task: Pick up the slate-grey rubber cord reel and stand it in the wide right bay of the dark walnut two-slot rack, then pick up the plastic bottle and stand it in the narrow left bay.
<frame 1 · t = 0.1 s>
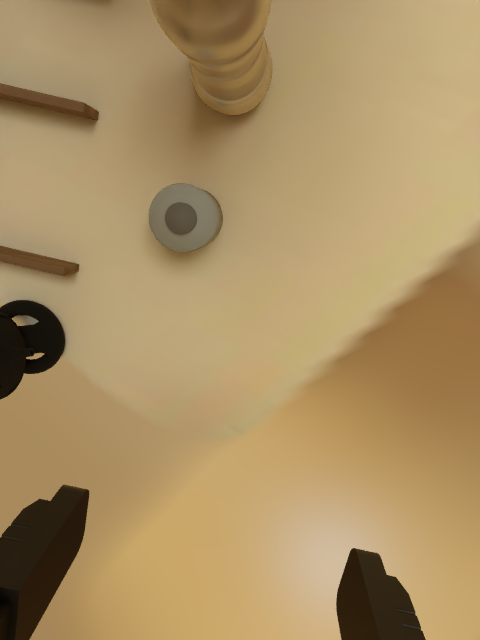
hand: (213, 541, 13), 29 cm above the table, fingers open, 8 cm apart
plastic bottle: (233, 78, 36), on the table
slot rack: (29, 124, 38), on the table
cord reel: (194, 217, 39), on the table
webcam: (31, 335, 43), on the table
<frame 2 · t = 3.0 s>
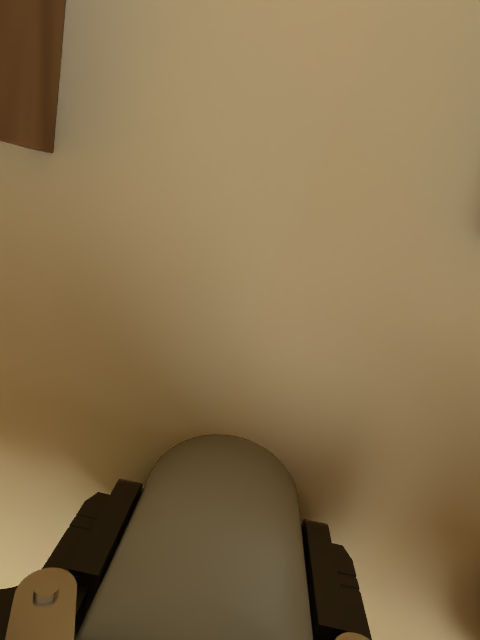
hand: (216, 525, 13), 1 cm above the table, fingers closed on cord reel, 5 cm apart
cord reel: (220, 504, 14), on the table, touching gripper
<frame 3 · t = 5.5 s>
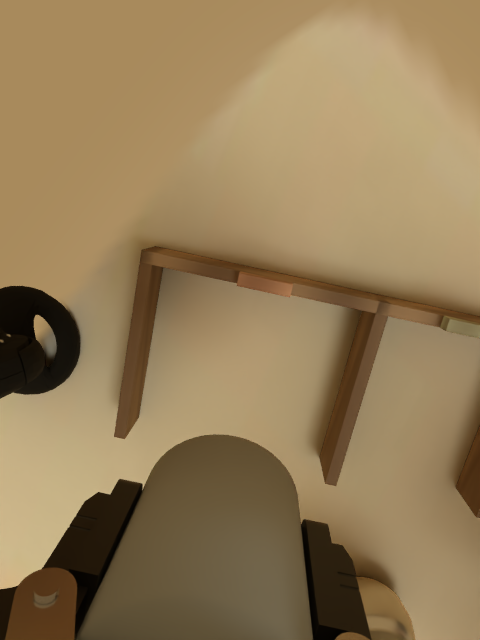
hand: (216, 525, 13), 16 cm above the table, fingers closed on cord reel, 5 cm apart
plastic bottle: (356, 596, 33), on the table
slot rack: (317, 373, 28), on the table
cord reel: (220, 504, 14), point 15 cm above the table, touching gripper
webcam: (30, 337, 29), on the table
when the fingers open (3 cm above the table, at t = 8.0 s): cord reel drops 2 cm, on the table.
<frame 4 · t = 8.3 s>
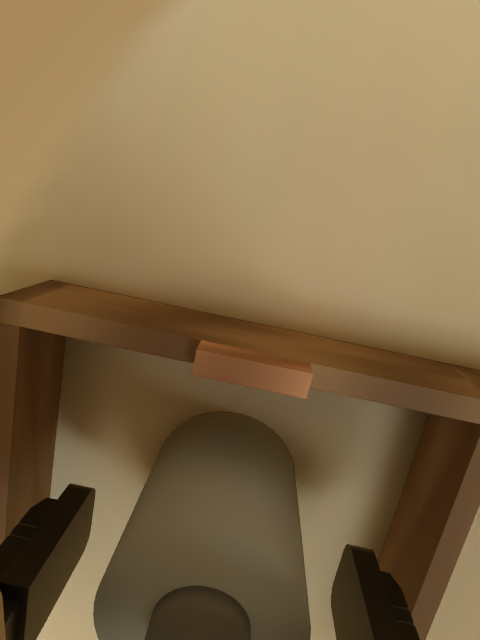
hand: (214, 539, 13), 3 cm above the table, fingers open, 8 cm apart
slot rack: (352, 503, 16), on the table
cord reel: (225, 475, 16), on the table
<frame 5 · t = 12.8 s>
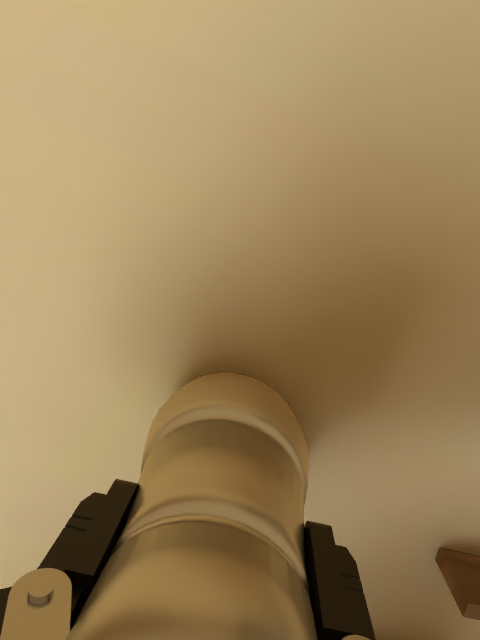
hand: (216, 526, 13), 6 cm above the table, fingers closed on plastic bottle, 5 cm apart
plastic bottle: (232, 424, 20), on the table, touching gripper
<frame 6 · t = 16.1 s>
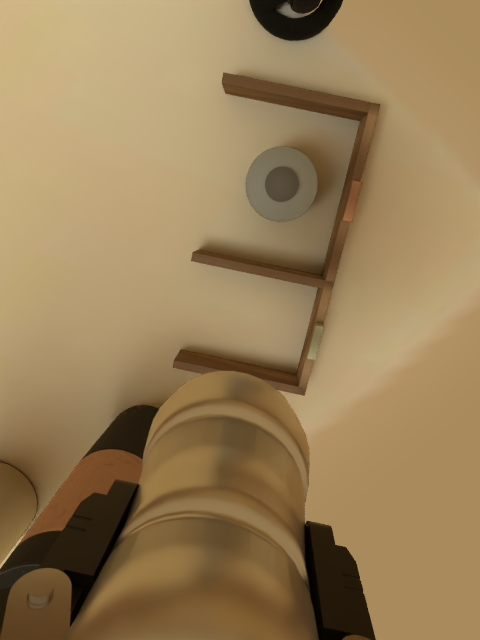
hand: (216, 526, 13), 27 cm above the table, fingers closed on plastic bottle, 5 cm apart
plastic bottle: (233, 422, 20), point 20 cm above the table, touching gripper
slot rack: (267, 245, 38), on the table
travel mug: (146, 435, 43), on the table
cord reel: (279, 189, 37), on the table
when the fingers open (7 cm above the table, at t = 19.6 s): plastic bottle stays where it is, resting in slot rack.
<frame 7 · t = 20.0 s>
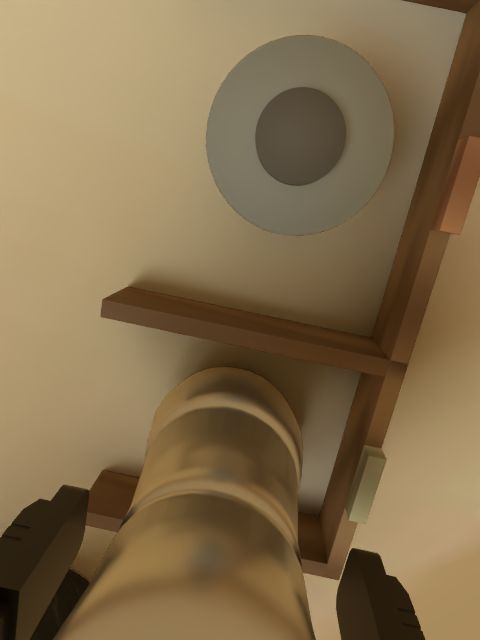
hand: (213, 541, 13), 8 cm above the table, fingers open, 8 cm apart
plastic bottle: (231, 417, 21), resting in slot rack
slot rack: (264, 278, 19), on the table
travel mug: (49, 610, 24), on the table
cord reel: (288, 165, 18), on the table
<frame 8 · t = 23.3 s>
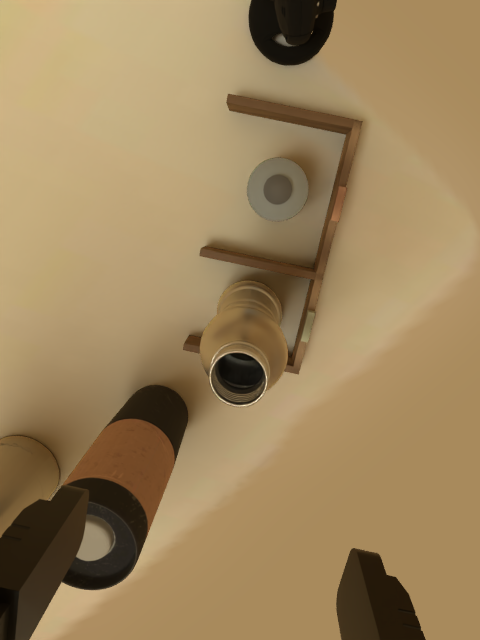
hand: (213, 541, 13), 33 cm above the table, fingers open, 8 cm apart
plastic bottle: (250, 307, 45), resting in slot rack
slot rack: (265, 242, 43), on the table
travel mug: (158, 413, 49), on the table
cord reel: (276, 193, 42), on the table
webcam: (290, 21, 38), on the table
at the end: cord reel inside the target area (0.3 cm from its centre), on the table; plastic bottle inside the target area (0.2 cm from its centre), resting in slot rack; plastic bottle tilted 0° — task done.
